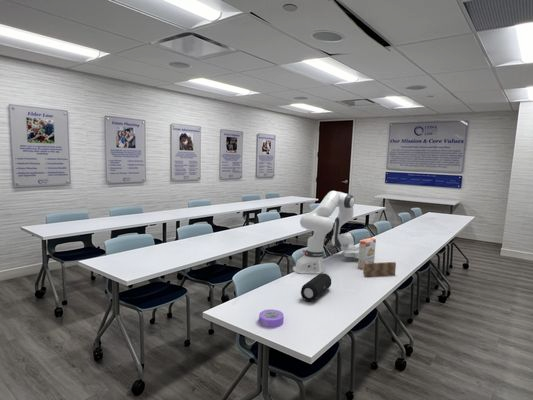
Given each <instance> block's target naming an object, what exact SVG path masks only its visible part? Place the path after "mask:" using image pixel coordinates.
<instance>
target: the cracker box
mask: <svg viewBox="0 0 533 400" xmlns="http://www.w3.org/2000/svg"><path fill="white" fill-rule="evenodd" d="M376 241H377V239H375V238H373V237H367V238H364V239H361V240H359V244H358V245H359V246H358V247H359V257H358V258H357V259H358V260H357V261H358V264H357V269H359V270H364V268H365V263H375V257H376V256H375V254H376Z"/></svg>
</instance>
